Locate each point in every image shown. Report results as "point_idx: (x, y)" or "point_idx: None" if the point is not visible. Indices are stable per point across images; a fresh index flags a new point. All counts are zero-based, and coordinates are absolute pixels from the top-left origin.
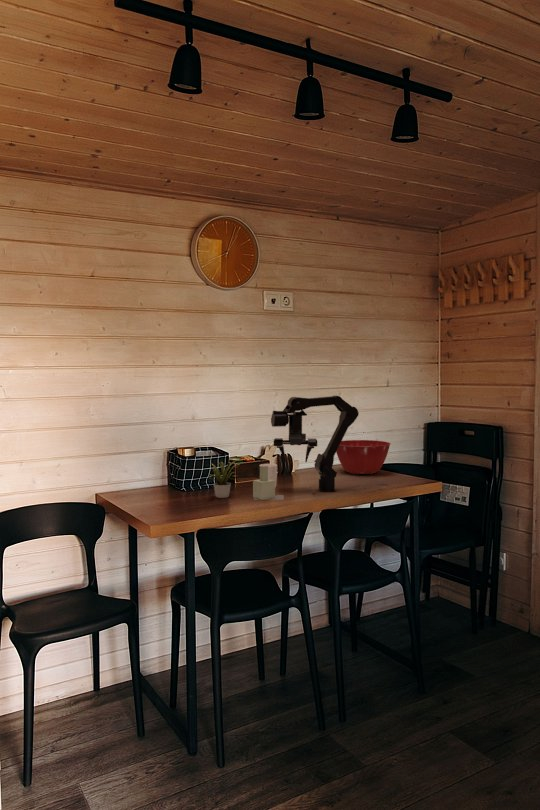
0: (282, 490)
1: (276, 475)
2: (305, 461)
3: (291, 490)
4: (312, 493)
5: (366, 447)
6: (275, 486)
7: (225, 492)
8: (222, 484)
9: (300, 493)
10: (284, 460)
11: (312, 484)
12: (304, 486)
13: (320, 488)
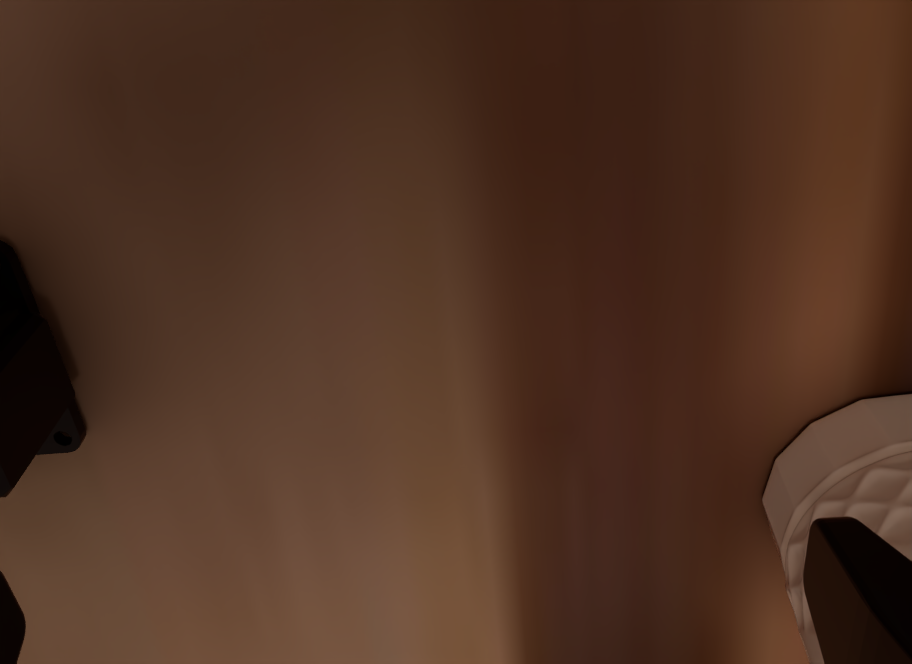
0: (667, 276)
1: None
2: (9, 628)
3: (514, 289)
4: (105, 77)
5: None
6: (778, 467)
7: None
8: None
9: (326, 55)
10: (868, 555)
11: (260, 658)
12: (345, 553)
13: (10, 311)
